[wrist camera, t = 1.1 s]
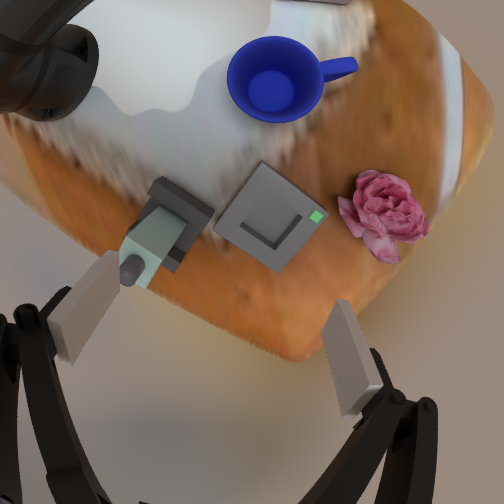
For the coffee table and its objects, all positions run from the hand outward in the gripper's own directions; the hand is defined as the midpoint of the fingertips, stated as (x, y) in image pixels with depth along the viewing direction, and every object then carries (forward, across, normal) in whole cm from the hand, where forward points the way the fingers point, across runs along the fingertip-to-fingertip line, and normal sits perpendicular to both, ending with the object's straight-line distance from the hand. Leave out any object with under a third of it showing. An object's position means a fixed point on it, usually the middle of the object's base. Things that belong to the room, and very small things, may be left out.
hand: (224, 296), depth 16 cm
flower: (+21, +17, +4) cm, 27 cm away
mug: (+21, +2, +15) cm, 26 cm away
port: (+21, +4, -1) cm, 21 cm away
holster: (+21, -8, -5) cm, 23 cm away
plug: (+20, -8, -5) cm, 22 cm away
